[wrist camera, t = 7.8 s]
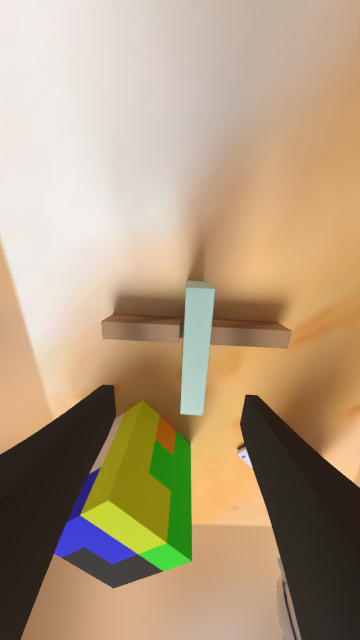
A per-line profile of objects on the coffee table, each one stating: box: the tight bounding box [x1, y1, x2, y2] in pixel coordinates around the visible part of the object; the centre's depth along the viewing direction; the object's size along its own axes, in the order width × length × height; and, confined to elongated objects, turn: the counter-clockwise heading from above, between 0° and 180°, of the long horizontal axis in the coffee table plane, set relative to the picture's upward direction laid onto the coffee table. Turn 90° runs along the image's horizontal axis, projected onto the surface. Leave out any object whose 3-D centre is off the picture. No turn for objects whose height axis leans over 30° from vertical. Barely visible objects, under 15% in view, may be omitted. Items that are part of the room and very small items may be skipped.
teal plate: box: [180, 280, 215, 416], centre depth 15 cm, size 10×2×7 cm, turn 178°
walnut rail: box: [101, 314, 292, 348], centre depth 17 cm, size 18×2×3 cm, turn 88°
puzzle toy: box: [54, 400, 192, 588], centre depth 19 cm, size 10×10×10 cm
